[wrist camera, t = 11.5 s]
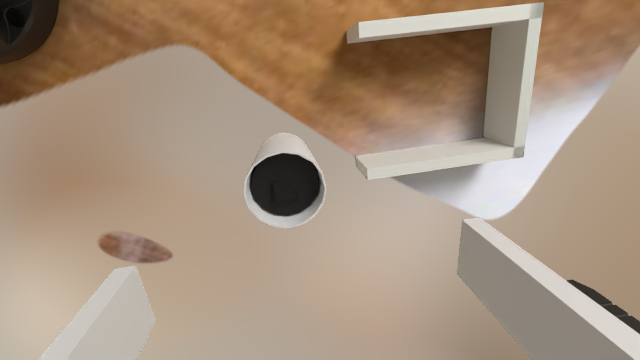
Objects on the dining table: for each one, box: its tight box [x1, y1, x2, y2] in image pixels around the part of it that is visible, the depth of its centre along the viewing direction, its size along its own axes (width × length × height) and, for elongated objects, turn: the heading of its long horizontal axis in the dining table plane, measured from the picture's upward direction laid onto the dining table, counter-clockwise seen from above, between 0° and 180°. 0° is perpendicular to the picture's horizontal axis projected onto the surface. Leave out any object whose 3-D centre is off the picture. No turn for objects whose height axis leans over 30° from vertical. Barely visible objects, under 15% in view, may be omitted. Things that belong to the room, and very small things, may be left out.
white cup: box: [243, 133, 327, 228], centre depth 28 cm, size 7×7×10 cm
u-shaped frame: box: [346, 2, 544, 180], centre depth 30 cm, size 14×17×5 cm
